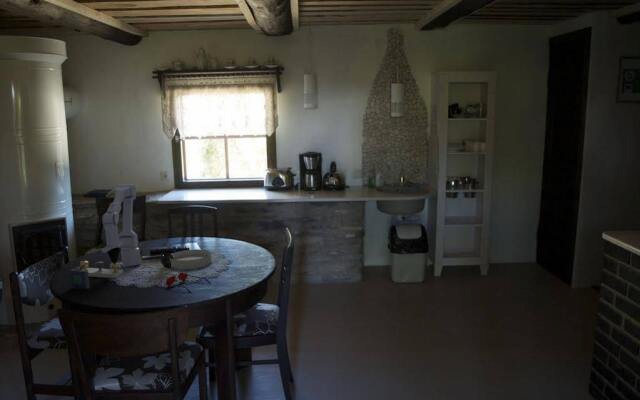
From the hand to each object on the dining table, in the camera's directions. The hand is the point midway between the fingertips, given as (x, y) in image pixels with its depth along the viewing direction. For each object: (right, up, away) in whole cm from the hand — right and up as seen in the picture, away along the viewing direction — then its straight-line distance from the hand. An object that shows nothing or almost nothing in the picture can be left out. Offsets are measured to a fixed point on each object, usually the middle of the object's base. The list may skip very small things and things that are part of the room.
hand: (114, 262), depth 256 cm
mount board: (-9, -7, +3) cm, 11 cm away
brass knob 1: (-17, -4, +5) cm, 19 cm away
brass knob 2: (0, -4, +1) cm, 4 cm away
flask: (-9, -10, -16) cm, 22 cm away
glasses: (+42, -9, -16) cm, 46 cm away
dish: (+34, -3, +20) cm, 39 cm away
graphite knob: (-9, -4, +3) cm, 10 cm away
